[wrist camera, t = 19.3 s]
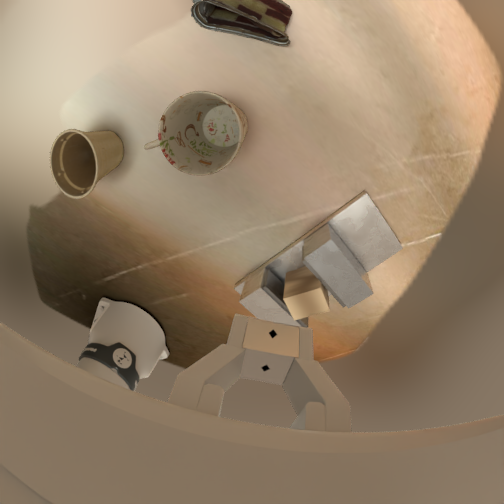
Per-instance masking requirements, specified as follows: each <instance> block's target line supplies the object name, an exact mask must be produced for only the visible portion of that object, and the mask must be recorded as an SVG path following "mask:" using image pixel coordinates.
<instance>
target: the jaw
mask: <svg viewBox="0 0 504 504" xmlns="http://www.w3.org/2000/svg"><path fill="white" fill-rule="evenodd" d="M302 262H303V263H304V264H305V265H306V267H307V268H308V269H309V270H310V271H311V272H312V273H313V274H314V275H315V276H316V278H317V279H318V280H319V281H320V282H321V283H322V284H323V285H324V286H325V287H326V289H327V290H328V291H329V292H330V293H331V294H332V295H333V296H334V298H335V299H336V300H337V301H338V302H339V303H340V304H341V305H342V307H345V306H347V307H348V308H350V307H352V306H354V305H355V304H357V303H359V302H360V301H362V300H364V299H365V298H367V297H369V296H370V295H372V294H373V290H372V287H371V283H370V280H369V277H368V274H367V272H366V271H365V270H364V268H363V267H362V266H361V264H360V263H359V262H358V260H357V259H356V258H355V257H354V255H353V254H352V253H351V251H350V250H349V249H348V248H347V246H346V245H345V244H344V242H343V241H342V240H341V239H340V237H339V236H338V235H337V234H336V232H335V231H334V230H333V229H332V228H331V226H330V225H329V224H328V223H327V224H326V225H324V226H323V227H321V228H320V229H319V230H317V231H316V232H315V233H313V234H312V235H310V236H309V237H308V238H306V239H305V240H304V245H303V246H302Z"/></svg>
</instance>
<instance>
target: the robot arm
mask: <svg viewBox="0 0 504 504" xmlns="http://www.w3.org/2000/svg"><path fill="white" fill-rule="evenodd" d="M247 321H248V322H247ZM246 326H247V327H246ZM168 355H169V351H168V349H167V347H166V345H165V336H164V333H163V330H162V329H161V327H160V326H159V324H158V323H157V322H156V321H155V320H154V319H153V318H152V317H151V316H150V315H149V314H148V313H146V312H145V311H144V310H142V309H140V308H139V307H137V306H135V305H132V304H129V303H126V302H115V301H112V300H109V299H107V298H101V300H100V301H99V304H98V307H97V311H96V314H95V317H94V320H93V324H92V327H91V329H90V335H89V342H88V345H87V346H86V348H85V349H84V350H83V351H82V353H81V356H80V357H79V363H78V364H77V366H74V365H72V364H70V363H68V362H66V361H64V360H62V359H60V358H59V357H57V356H55V355H53V354H51V353H49V352H48V351H46V350H44V349H42V348H40V347H39V346H37V345H35V344H34V343H32V342H30V341H29V340H27V339H26V338H24V337H22V336H20V335H19V334H18V333H16V332H15V331H13V330H11V329H10V328H9V327H7V326H6V325H4V324H3V323H1V322H0V504H504V415H497V416H493V417H489V418H485V419H481V420H477V421H472V422H467V423H462V424H456V425H451V426H444V427H437V428H430V429H420V430H411V431H410V430H409V431H398V432H397V431H396V432H368V433H365V432H364V433H362V432H361V433H360V432H352V427H351V412H350V404H349V402H348V401H347V400H346V398H345V397H344V396H343V395H342V393H341V392H340V391H339V389H338V388H337V387H336V385H335V384H334V383H333V381H332V380H331V379H330V377H329V376H328V375H327V373H326V372H325V371H324V370H323V368H322V367H321V366H320V364H319V363H318V362H317V361H314V359H313V330H312V328H306V327H300V326H299V327H298V326H294V325H288V324H282V323H277V322H271V321H267V320H262V319H258V318H253V317H249V318H248V317H247V316H243V315H239V314H235V316H234V319H233V323H232V326H231V330H230V334H229V337H228V341H227V345H226V344H222V345H220V346H219V347H217V348H216V349H215V350H213V351H212V352H210V353H209V354H207V355H206V356H205V357H203V358H202V359H200V360H199V361H197V362H196V363H194V364H193V365H191V366H190V367H188V368H187V369H185V370H184V371H182V372H181V373H179V374H178V376H177V378H176V381H175V383H174V386H173V389H172V391H171V394H170V396H169V399H168V402H163V401H161V400H157V399H155V398H152V397H149V396H145V395H143V394H140V393H137V392H135V391H134V390H135V389H136V387H137V384H138V382H139V379H141V378H146V377H148V376H149V375H150V374H151V372H152V370H153V369H154V367H155V365H156V364H157V362H158V360H160V359H164V358H167V357H168ZM239 378H245V379H251V380H257V381H263V382H268V383H273V384H278V385H282V387H283V389H284V391H285V393H286V395H287V397H288V399H289V401H290V403H291V405H292V406H293V408H294V410H295V412H296V414H297V416H298V417H297V418H296V420H295V421H294V422H293V424H292V425H291V426H290V428H282V427H275V426H268V425H261V424H255V423H249V422H244V421H238V420H233V419H228V418H224V417H220V412H221V406H222V401H223V395H224V392H225V391H227V390H228V389H229V388H230V387H231V386H232V385H233V384H234V383H235V382H236V381H237V380H238V379H239Z"/></svg>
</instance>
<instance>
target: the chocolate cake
mask: <svg viewBox="0 0 504 504" xmlns="http://www.w3.org/2000/svg"><path fill="white" fill-rule="evenodd" d="M193 3H194V5H193V6H192V8H191V11H192V13H191V16H193V17H194V20H195V21H196V23H198V24H199V25H200V26H201V27H204V28H206V29H210V30H215V31H217V30H218V31H221V32H227V33H232V34H237V35H240V36H246V37H249V38H255V39H259V40H261V41H266V42H269V43H272V44H275V45H278V46H279V45H281V46H288V44H290V41H289V39H288V38H289V37H288V36H287V35H286V34H285V33H284V31H285V30H286V29H285V26H286V25H287V24H288V22H289V20H290V16H291V14H292V10H291V9H290V6H289V5H287V4H286V3H284V2H283V1H281V0H203V1H201V0H193Z"/></svg>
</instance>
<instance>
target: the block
mask: <svg viewBox="0 0 504 504" xmlns="http://www.w3.org/2000/svg"><path fill="white" fill-rule="evenodd" d="M283 300H284V302H285V303H286V305H287V307H288V309H289V311H290V313H291V315H292V317H293V319H294V320H298V319H302V318H305V317H309V316H313V315H316V314H320V313H324V312H327V311H330V307H329V296H328V290H327V289H326V287H325V286H324V285H323V284H322V283H321V282H320V281H319V280H318V279H317V278H316V276H315V275H314V274H313V273H312V272H311V271H310V270H309V269H308V268H307V267H306V266H305V267H302V268H299V269H296V270H293V271H290V272H287V273H286V277H285V286H284V295H283Z"/></svg>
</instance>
